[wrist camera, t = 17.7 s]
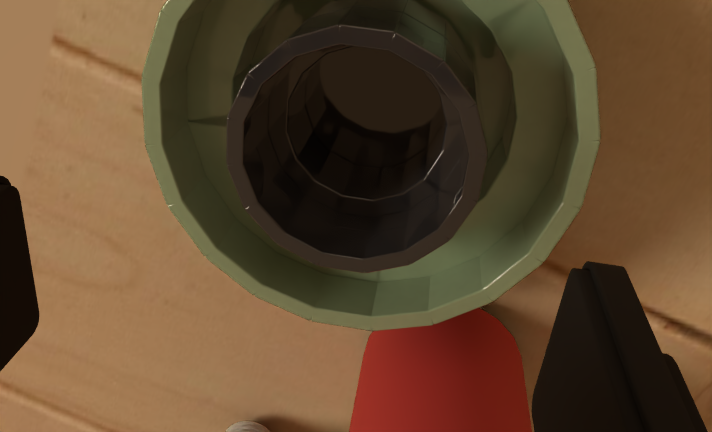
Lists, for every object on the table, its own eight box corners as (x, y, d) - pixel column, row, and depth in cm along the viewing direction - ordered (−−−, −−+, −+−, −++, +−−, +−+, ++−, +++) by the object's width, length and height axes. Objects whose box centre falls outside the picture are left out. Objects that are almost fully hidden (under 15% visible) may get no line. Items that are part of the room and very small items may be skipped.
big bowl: (201, 228, 27) (151, 296, 23) (197, -134, 21) (129, -139, 17) (525, 278, 26) (539, 359, 22) (618, -86, 20) (664, -78, 16)
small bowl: (273, 173, 25) (224, 252, 20) (282, -22, 22) (226, 9, 16) (459, 201, 24) (460, 289, 19) (496, 5, 21) (510, 46, 16)
